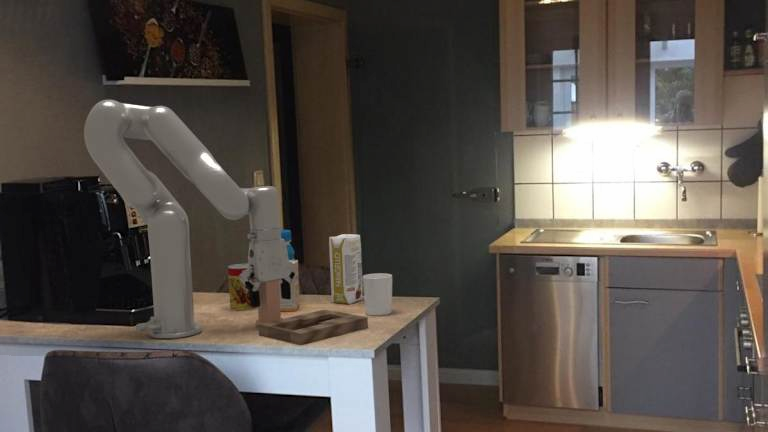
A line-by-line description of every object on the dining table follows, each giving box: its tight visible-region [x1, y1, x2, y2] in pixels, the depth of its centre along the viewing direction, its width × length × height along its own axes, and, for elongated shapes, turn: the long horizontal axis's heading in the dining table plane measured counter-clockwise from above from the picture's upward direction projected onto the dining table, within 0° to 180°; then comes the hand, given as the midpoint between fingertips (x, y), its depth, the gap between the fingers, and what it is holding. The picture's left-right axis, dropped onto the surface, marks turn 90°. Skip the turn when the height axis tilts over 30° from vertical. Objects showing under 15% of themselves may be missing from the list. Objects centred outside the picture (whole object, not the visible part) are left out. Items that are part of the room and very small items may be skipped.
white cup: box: [362, 272, 393, 316], centre depth 217 cm, size 8×8×10 cm
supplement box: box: [279, 259, 301, 312], centre depth 227 cm, size 8×5×13 cm, turn 179°
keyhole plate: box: [258, 309, 369, 346], centre depth 199 cm, size 21×16×3 cm
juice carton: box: [328, 233, 364, 305], centre depth 234 cm, size 8×9×19 cm
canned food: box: [227, 263, 258, 312], centre depth 231 cm, size 8×8×12 cm
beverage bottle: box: [281, 229, 296, 260], centre depth 244 cm, size 8×8×20 cm
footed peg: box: [255, 280, 284, 328], centre depth 208 cm, size 7×7×12 cm
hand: (271, 302), depth 208 cm, fingers open, 9 cm apart
